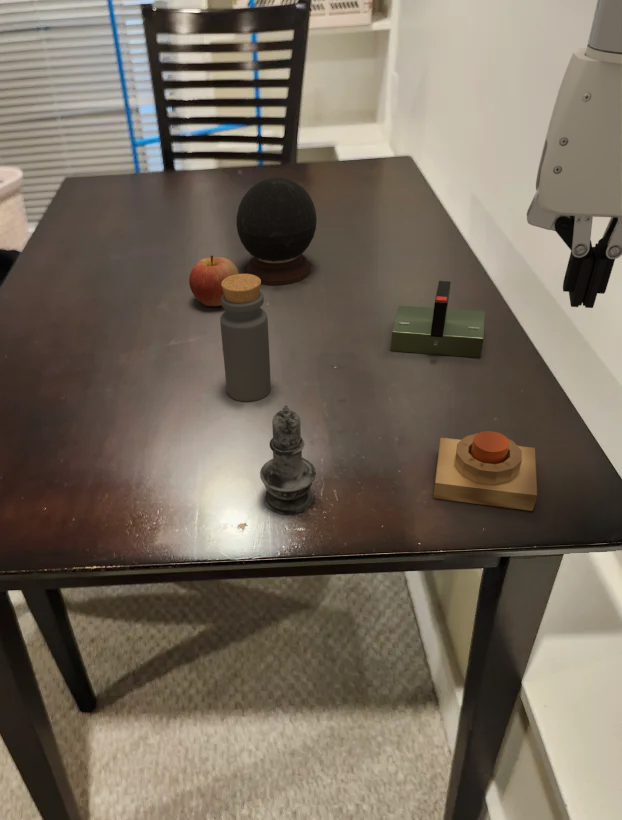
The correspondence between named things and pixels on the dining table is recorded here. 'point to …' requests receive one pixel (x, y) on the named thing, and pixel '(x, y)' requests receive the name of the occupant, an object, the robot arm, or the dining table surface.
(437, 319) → the black block
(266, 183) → the black ball on stand
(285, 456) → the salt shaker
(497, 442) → the button
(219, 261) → the apple
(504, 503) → the button block
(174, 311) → the dining table surface
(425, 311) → the clamp panel
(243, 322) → the bottle
